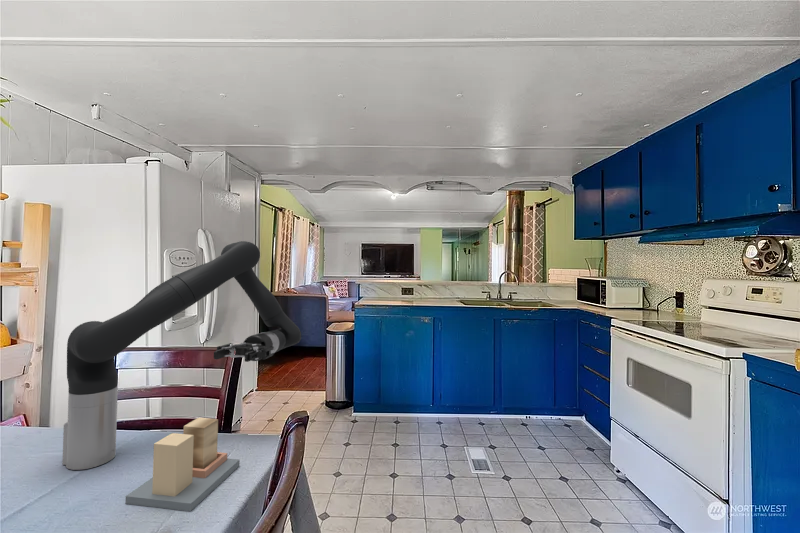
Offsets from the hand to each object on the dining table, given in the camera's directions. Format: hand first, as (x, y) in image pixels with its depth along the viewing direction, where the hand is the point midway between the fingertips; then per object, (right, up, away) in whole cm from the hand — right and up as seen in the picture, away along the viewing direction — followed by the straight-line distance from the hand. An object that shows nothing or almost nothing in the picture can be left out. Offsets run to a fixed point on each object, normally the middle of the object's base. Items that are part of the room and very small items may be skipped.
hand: (230, 356), depth 97 cm
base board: (-2, -24, -15) cm, 28 cm away
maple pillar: (-2, -22, -11) cm, 25 cm away
